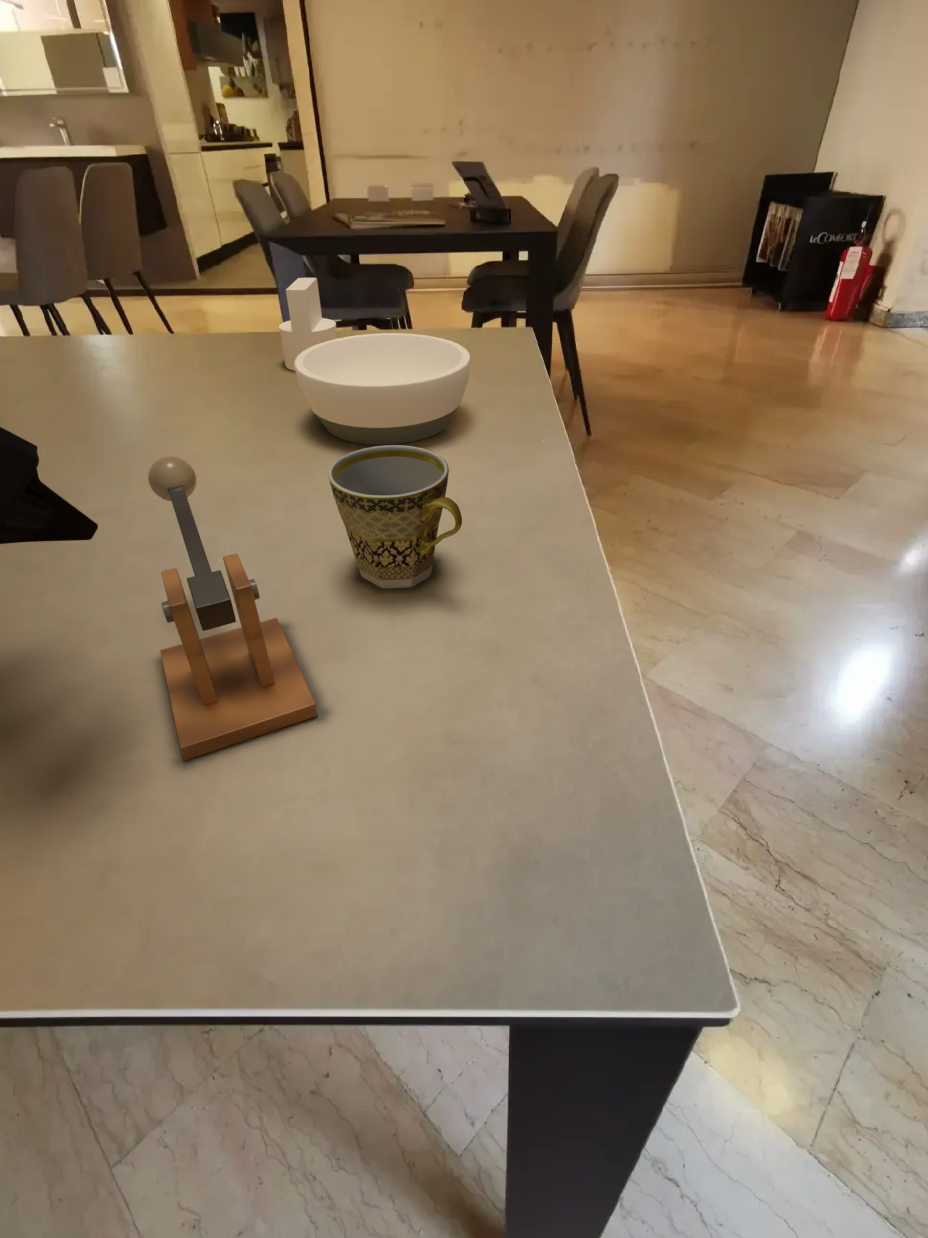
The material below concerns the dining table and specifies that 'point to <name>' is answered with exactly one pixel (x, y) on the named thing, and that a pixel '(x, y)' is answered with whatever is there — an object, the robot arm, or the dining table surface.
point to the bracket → (230, 672)
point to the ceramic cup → (393, 510)
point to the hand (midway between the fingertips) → (57, 510)
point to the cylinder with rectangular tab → (304, 321)
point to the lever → (192, 542)
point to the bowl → (384, 385)
